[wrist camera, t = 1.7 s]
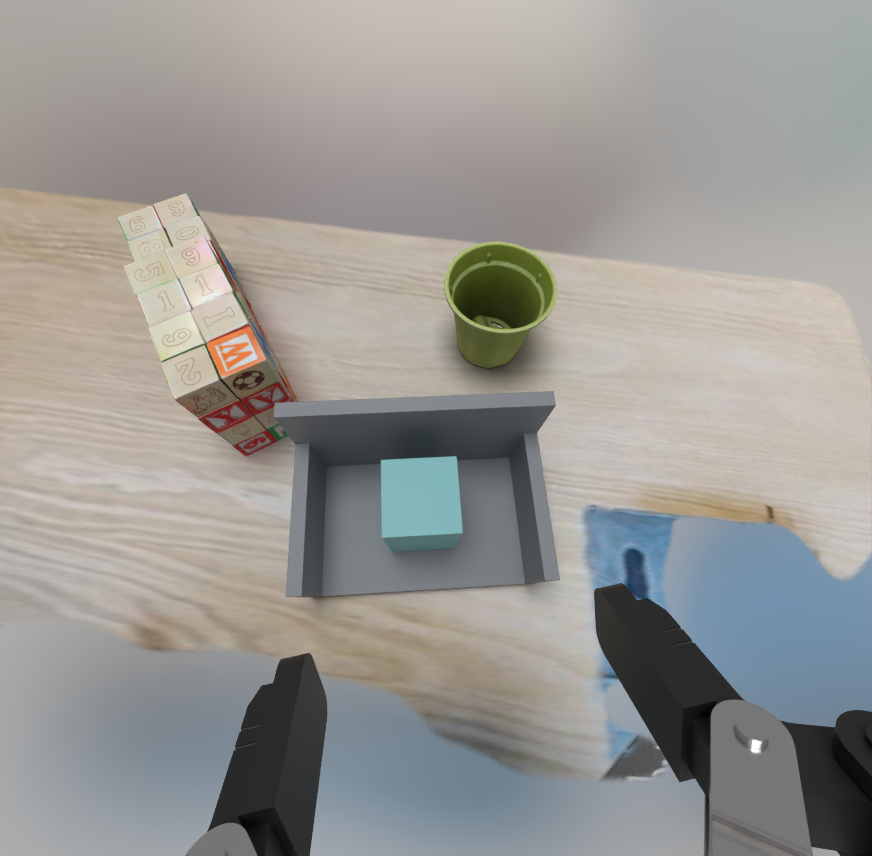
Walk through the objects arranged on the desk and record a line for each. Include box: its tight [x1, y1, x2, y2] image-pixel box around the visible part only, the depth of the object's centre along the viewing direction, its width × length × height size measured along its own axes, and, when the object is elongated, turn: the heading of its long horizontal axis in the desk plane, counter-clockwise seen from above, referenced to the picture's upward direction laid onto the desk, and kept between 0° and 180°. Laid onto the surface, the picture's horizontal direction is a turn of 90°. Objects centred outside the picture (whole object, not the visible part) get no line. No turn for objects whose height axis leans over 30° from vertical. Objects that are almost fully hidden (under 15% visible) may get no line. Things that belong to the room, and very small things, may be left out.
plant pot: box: [444, 242, 557, 368], centre depth 39 cm, size 9×9×9 cm
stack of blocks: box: [118, 194, 297, 456], centre depth 37 cm, size 21×6×12 cm, turn 29°
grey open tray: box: [274, 391, 560, 597], centre depth 31 cm, size 12×18×12 cm, turn 93°
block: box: [381, 456, 463, 552], centre depth 31 cm, size 5×5×9 cm
